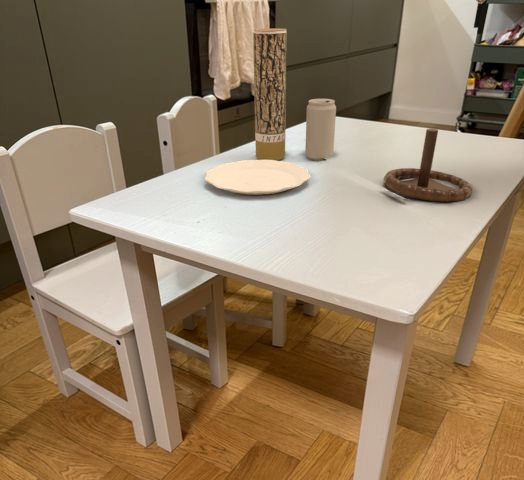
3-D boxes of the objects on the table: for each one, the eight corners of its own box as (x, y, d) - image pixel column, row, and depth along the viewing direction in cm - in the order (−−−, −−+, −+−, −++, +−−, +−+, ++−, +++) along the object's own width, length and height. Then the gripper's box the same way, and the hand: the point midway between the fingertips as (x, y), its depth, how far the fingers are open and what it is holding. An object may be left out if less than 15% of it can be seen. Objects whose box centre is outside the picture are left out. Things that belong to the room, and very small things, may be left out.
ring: (431, 176, 103) (434, 166, 102) (488, 200, 91) (492, 189, 90) (367, 178, 97) (369, 168, 96) (418, 205, 85) (421, 193, 84)
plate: (239, 162, 112) (239, 155, 111) (325, 175, 104) (325, 166, 103) (185, 189, 98) (184, 181, 97) (280, 206, 89) (280, 197, 88)
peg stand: (424, 183, 99) (435, 122, 93) (456, 196, 93) (470, 132, 86) (387, 189, 96) (395, 127, 90) (417, 204, 90) (428, 138, 83)
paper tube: (250, 156, 116) (247, 29, 102) (276, 152, 119) (276, 28, 104) (264, 163, 112) (262, 31, 97) (290, 159, 114) (292, 29, 99)
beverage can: (329, 162, 112) (333, 103, 105) (301, 160, 113) (303, 102, 106) (335, 155, 116) (339, 98, 109) (308, 153, 118) (310, 97, 111)
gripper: (610, -116, 69) (569, 30, 79) (477, -105, 74) (454, 31, 84) (623, -124, 63) (577, 34, 74) (478, -112, 68) (453, 35, 78)
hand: (511, 33), depth 79 cm, fingers open, 9 cm apart
